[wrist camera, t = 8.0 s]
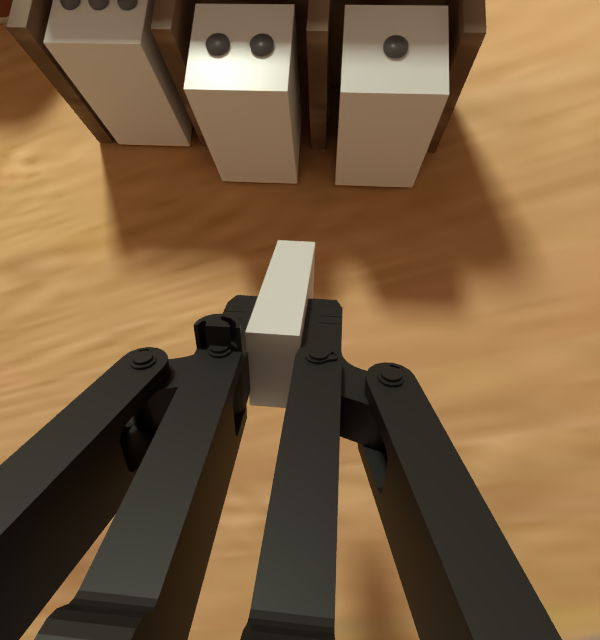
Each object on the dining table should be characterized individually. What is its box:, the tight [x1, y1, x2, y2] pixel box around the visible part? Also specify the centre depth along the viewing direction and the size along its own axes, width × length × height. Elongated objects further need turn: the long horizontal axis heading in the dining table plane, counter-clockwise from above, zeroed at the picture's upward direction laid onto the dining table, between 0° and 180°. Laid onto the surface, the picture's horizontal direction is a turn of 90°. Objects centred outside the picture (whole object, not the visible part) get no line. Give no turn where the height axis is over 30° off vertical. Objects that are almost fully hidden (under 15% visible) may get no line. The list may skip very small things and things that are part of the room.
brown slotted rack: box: [6, 0, 486, 152], centre depth 28 cm, size 28×8×17 cm, turn 86°
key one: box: [335, 5, 449, 188], centre depth 30 cm, size 6×6×10 cm
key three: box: [43, 0, 193, 146], centre depth 31 cm, size 6×6×10 cm
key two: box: [184, 4, 302, 184], centre depth 30 cm, size 6×6×10 cm
